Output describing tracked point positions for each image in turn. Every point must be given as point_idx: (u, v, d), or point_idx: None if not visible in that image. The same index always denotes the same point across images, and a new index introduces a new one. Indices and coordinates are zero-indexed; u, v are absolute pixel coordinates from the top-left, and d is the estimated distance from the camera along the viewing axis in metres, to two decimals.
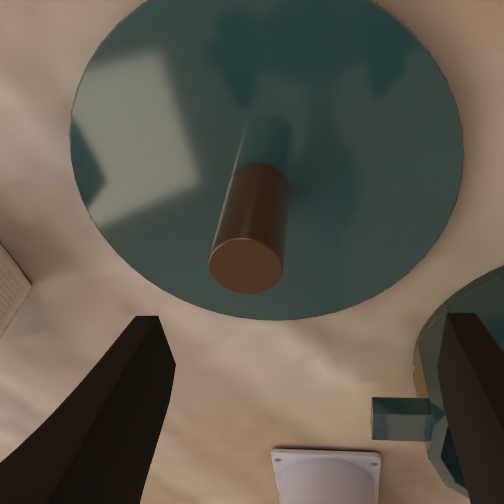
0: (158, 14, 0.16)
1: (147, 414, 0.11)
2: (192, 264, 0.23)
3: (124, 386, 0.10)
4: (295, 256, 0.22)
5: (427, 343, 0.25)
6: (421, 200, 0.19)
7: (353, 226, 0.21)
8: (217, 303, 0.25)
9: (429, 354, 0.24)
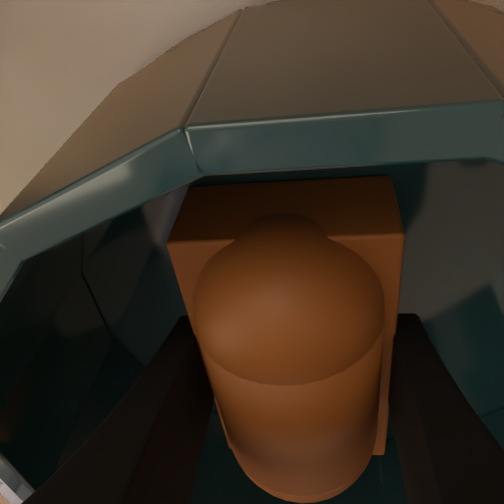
0: None
1: (196, 416, 0.11)
2: None
3: (178, 387, 0.10)
4: None
5: None
6: None
7: None
8: None
9: None
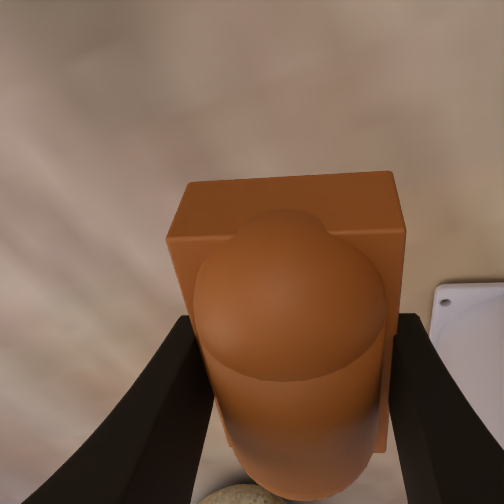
0: None
1: (196, 415, 0.11)
2: None
3: (178, 387, 0.10)
4: None
5: None
6: None
7: None
8: None
9: None
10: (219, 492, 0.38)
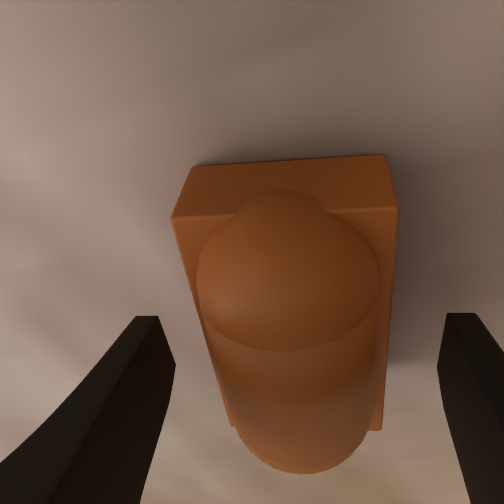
0: None
1: (147, 414, 0.11)
2: None
3: (124, 386, 0.10)
4: None
5: None
6: None
7: None
8: None
9: None
10: None
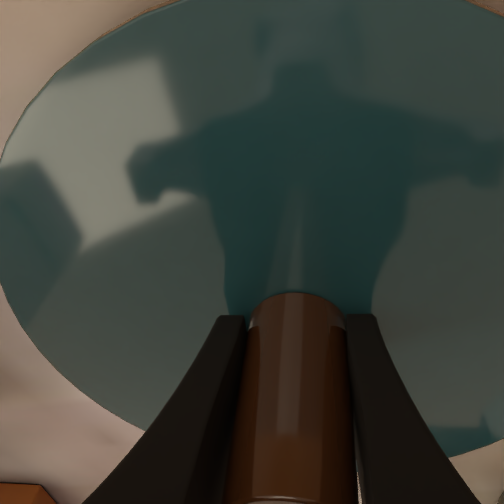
0: (126, 59, 0.08)
1: None
2: None
3: (224, 388, 0.10)
4: None
5: None
6: None
7: (443, 375, 0.13)
8: None
9: None
10: None
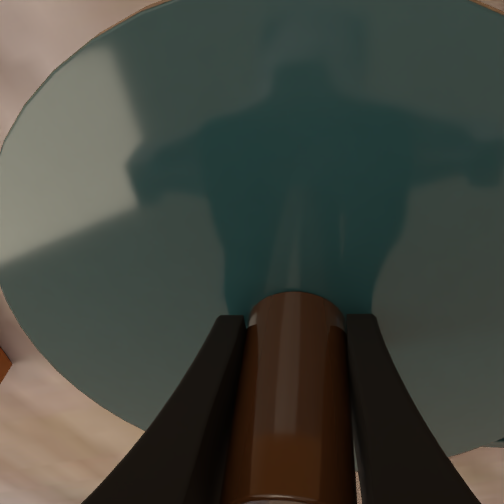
0: (124, 57, 0.08)
1: None
2: None
3: (223, 388, 0.10)
4: None
5: None
6: None
7: (442, 375, 0.13)
8: None
9: None
10: None
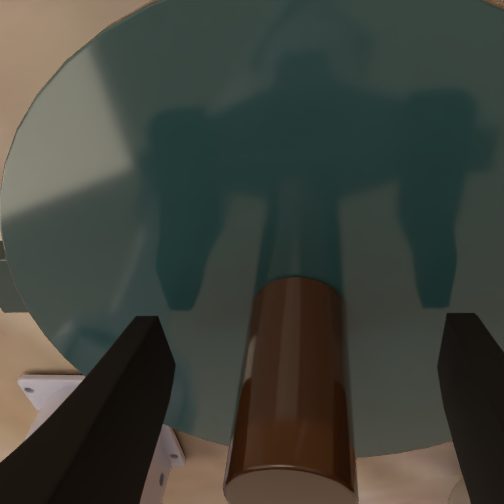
0: (134, 47, 0.09)
1: (147, 414, 0.11)
2: (194, 393, 0.16)
3: (124, 386, 0.10)
4: None
5: None
6: None
7: None
8: (229, 437, 0.18)
9: None
10: None
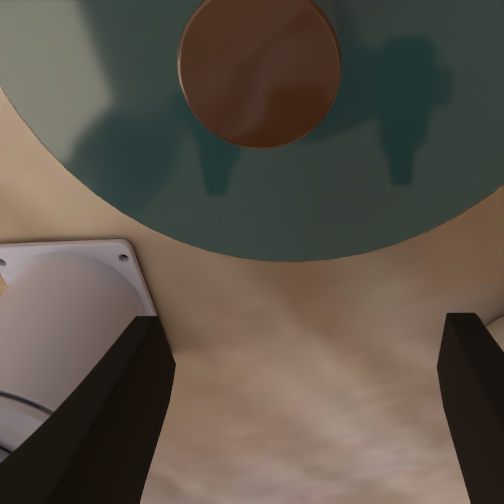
0: None
1: (147, 414, 0.11)
2: (165, 163, 0.14)
3: (124, 386, 0.10)
4: (335, 142, 0.13)
5: None
6: None
7: (440, 75, 0.12)
8: (207, 234, 0.16)
9: None
10: None
